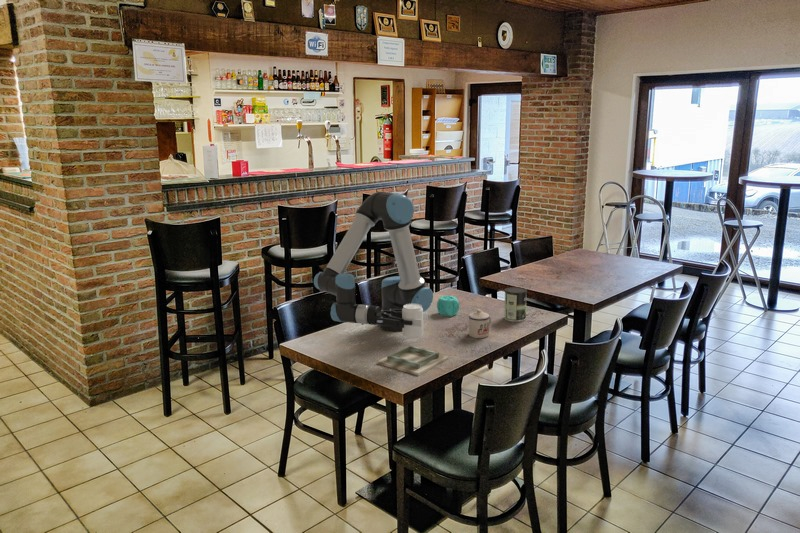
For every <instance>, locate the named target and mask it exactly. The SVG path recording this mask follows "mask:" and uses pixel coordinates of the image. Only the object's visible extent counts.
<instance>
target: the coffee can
mask: <svg viewBox="0 0 800 533" xmlns="http://www.w3.org/2000/svg"><path fill="white" fill-rule="evenodd" d="M527 293H528V289H527V288H524V287H520V286H519V287H518V286H511V287H507V288H504V317H503V318H504V320H505V321H509V322H514V323H519V322H524V321H526V320H527V298H528V297H527Z"/></svg>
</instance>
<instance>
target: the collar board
mask: <svg viewBox="0 0 800 533" xmlns="http://www.w3.org/2000/svg"><path fill="white" fill-rule="evenodd" d="M448 360H449V356H448V355H445V354H440V352H437V351H433V350H429V349H426V348H422V347H417V346H414V345H410V344H407V345H406V347H405V346H404V347H403V348H400V349H399V350H396V352H395V351H394V352H393V353H391V354H387V356H386V357H383V358H381V359H380V360H377V365H381V366H385V367H388V368H391V369H395V370H398V371H402V372H405V373H408V374H411V375H415V376H418V377H419V376H421V375H423V374H425V373H426V372H428V371H430V370H432V369H434V368H436V367H437V366H439V365H441V364H442V363H444V362H446V361H448Z"/></svg>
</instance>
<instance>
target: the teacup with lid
mask: <svg viewBox="0 0 800 533" xmlns="http://www.w3.org/2000/svg"><path fill="white" fill-rule="evenodd" d="M491 324H492V317H490V314H489V313H487V312H484V311H483V310H482V309H480V308H478V309H476V311H474V312H471V313H469V315H468V335H469V336H470V337H472V338H473V339H484V338H488V337H489V336H490V326H491Z"/></svg>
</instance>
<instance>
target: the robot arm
mask: <svg viewBox="0 0 800 533" xmlns="http://www.w3.org/2000/svg"><path fill="white" fill-rule="evenodd" d="M414 207H415V206H414V204H413V202H412V200H411V198H410V197H408V196H407V195H404V194H401V193H398V192H396V193H394V192H385V191H377V192H373V193H372V194H371V195H369V196H367V197H366V198H365V200H363V202H362V203H361V204H360V205H359V207H358V208H357V210H356V212H355V213H354V216H355V218H354V219H353V222H352V223H351V225H350V226H349V228H348V230H347V231H346V232H345V235H344V236H343V238H342V240H341V242H339V245H338V247H337V248H336V250H335V252H334V254H333V255H332V257H331V258H330V260H329V262H328V264H327V265H326V267H325V269H324V270H323V271H320V272H318V273H317V274H315V276H314V278H313V285H314V287H315V288H316V289H317V290H320V291H321V292H323V293H328V294H331V295H333V296H335V297H336V298H335V300H336V302H333V303H332V305H331V307H330V317H331V320H333V321H334V322H340V323H351V324H361V325H372V326H373V325H374V326H378V328H379V329H380V330H384V331H388V332H399V331H400V332H401V331H402V328H404V325H406V326H417V327H421V326H422V319H410V318H405V320H404V319H402V309H403V306H404V305H406V304H420V305H421V306H422V308H423V321H424V320H425V321H428V320H429V318H428V317H429V316H428V315H429V314H428V313H429V312H427V310H428V309H429V308H430V307H431V306H432V303H433V300H434V293H433V291H432V289H431V288H430V287H427V286H426V280H425V279H424V277H422V276H421V275H420V274H421V273H420V269H419V265H418V262H417V257H416V253H415V248H414V245H413V240H412V236H411V232H410V225H411V224H412V219H413V217H414V213H415V208H414ZM378 221H382V225H383V229H384V230H385V231H387V232H388V233H389V238H390V242H391V246H392V249H393V250H392V251H393V254H394V259H395V263H396V266H397V271H398V275H396V276H390V277H389V276H388V277H385V278H383V279H382V281H381V287H380V289H381V307H380V306H379V305H368V304H357V303H356V283H355V276H354V275H353V274H352V273H347V272H346V270H347V268H348V266H349V265H350V263H351V261H352V259H353V258H354V256H355V255H356V253H357V251H358V250H359V248H360V246H361V244H362V243H363V241H364V240H365V238H366V236H367V234H368V232H369V231H370V229H371V228H373V227H375V225H376V224H377V222H378ZM345 272H346V273H345Z"/></svg>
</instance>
